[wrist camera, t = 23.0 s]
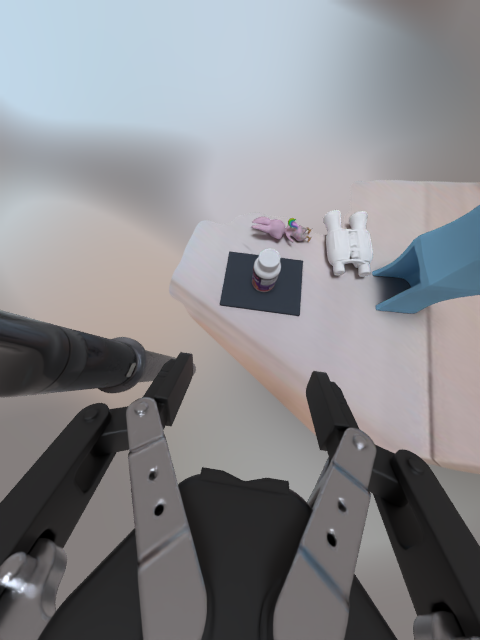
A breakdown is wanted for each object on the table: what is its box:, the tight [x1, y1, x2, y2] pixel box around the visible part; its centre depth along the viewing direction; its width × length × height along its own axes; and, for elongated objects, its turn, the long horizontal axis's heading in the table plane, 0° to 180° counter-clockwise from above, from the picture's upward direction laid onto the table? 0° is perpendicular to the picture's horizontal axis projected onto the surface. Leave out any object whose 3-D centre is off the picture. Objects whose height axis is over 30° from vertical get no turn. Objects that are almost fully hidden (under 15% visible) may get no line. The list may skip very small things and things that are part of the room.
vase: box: [372, 205, 480, 313], centre depth 32 cm, size 10×10×25 cm
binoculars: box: [323, 210, 373, 277], centre depth 45 cm, size 10×16×5 cm, turn 177°
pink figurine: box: [251, 217, 311, 242], centre depth 45 cm, size 6×6×15 cm
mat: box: [220, 252, 303, 316], centre depth 44 cm, size 18×14×1 cm
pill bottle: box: [252, 248, 281, 292], centre depth 39 cm, size 5×5×10 cm
